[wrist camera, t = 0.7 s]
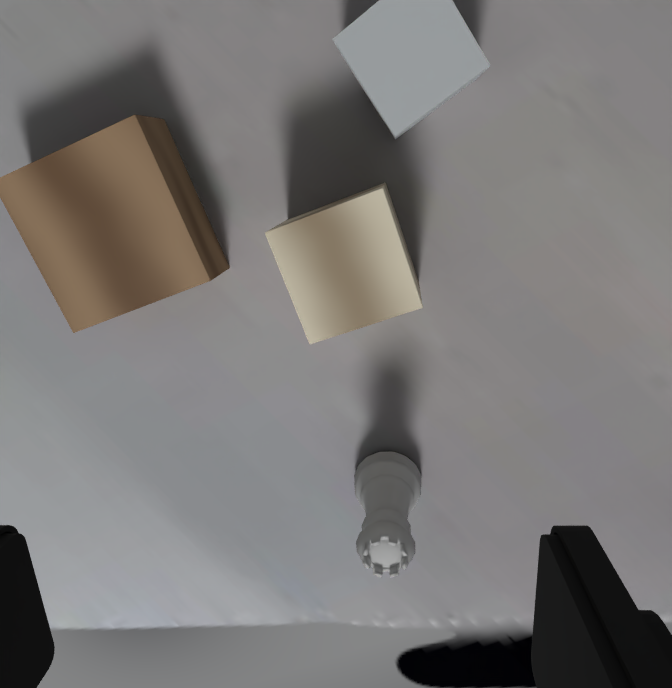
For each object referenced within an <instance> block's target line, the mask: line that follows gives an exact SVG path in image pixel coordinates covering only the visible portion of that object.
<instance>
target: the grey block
mask: <svg viewBox="0 0 672 688" xmlns="http://www.w3.org/2000/svg"><path fill="white" fill-rule="evenodd" d="M333 41H334V43H335V45H336V47H337V48H338V50H339V52H340V54H341V56H342V57H343V59H344V61H345V62H346V64H347V65H348V67H349V68H350V70H351V71H352V73H353V75H354V76H355V78H356V79H357V81H358V82H359V84H360V85H361V87H362V89H363V90H364V92H365V93H366V95H367V96H368V98H369V99H370V101H371V103H372V104H373V106H374V107H375V109H376V110H377V112H378V113H379V115H380V117H381V118H382V120H383V121H384V123H385V124H386V126H387V127H388V129H389V131H390V132H391V134H392V135H393V137H394V138H395V140H396V139H397V138H398V137H400V136H401V135H402V134H404V133H405V132H406V131H408V130H409V129H410V128H412V127H413V126H414V125H416V124H417V123H418V122H420V121H421V120H422V119H424V118H425V117H427V116H428V115H429V114H431V113H432V112H433V111H435V110H436V109H437V108H439V107H440V106H441V105H443V104H444V103H445V102H447V101H448V100H449V99H451V98H452V97H453V96H455V95H456V94H457V93H459V92H460V91H462V90H463V89H464V88H466V87H467V86H468V85H470V84H471V83H472V82H474V81H475V80H476V79H477V78H478V77H479V76H480V75H481V74H482V73H483V72H484V71H485V70H486V69H488V68H489V67H490V64H489V62H488V60H487V59H486V57H485V55H484V54H483V52H482V50H481V48H480V47H479V45H478V43H477V42H476V40H475V38H474V36H473V35H472V33H471V31H470V30H469V28H468V26H467V24H466V23H465V21H464V19H463V18H462V16H461V14H460V12H459V11H458V9H457V7H456V6H455V4H454V2H453V0H379V1H378V2H377V3H375V4H374V5H373V6H372V7H370V8H369V9H368V10H367V11H366V12H364V13H363V14H362V15H361V16H360V17H358V18H357V19H356V20H355V21H354V22H352V23H351V24H350V25H349V26H348V27H346V28H345V29H344V30H343V31H342V32H340V33H339V34H338V35H337V36H336V37H334V38H333Z"/></svg>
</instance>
